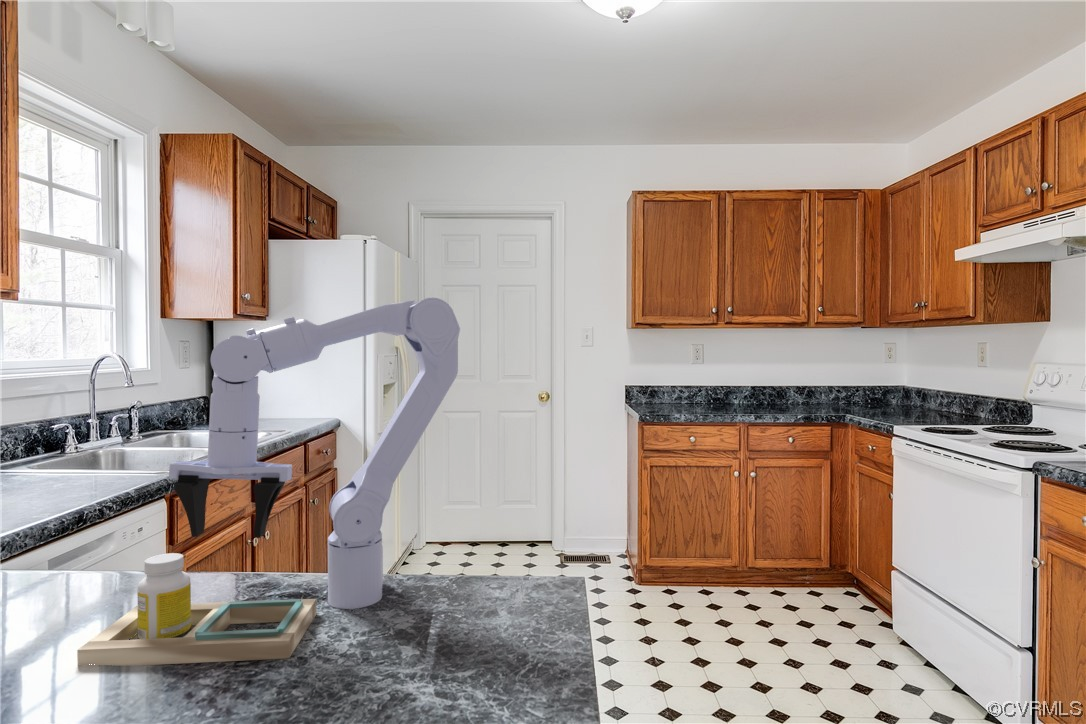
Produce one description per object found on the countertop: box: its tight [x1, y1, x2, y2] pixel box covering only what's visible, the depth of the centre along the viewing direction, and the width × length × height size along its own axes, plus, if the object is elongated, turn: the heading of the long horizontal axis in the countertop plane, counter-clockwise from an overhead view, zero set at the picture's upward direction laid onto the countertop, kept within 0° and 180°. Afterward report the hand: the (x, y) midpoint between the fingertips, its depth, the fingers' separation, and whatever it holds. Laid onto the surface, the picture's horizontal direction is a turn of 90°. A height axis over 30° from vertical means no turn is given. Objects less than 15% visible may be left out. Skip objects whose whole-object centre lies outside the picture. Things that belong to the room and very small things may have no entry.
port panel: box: [76, 598, 318, 667], centre depth 75 cm, size 12×22×2 cm, turn 96°
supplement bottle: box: [136, 552, 192, 639], centre depth 75 cm, size 5×5×10 cm
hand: (228, 535), depth 82 cm, fingers open, 7 cm apart
